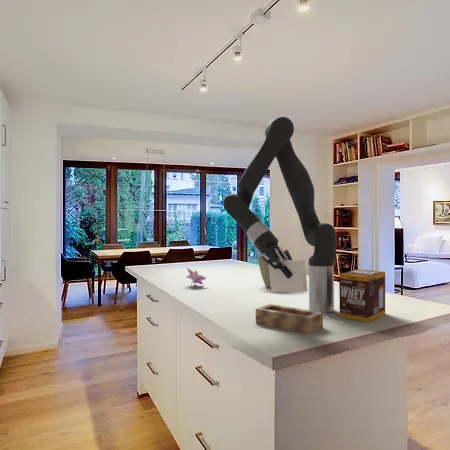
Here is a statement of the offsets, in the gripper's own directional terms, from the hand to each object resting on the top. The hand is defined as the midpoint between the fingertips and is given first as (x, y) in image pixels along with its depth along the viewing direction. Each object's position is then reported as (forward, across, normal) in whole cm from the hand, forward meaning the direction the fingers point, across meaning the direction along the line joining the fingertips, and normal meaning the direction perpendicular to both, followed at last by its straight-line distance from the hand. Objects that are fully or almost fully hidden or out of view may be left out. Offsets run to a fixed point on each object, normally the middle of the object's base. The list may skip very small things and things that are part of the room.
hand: (293, 276), depth 117 cm
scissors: (+16, +15, +8) cm, 23 cm away
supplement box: (+21, +27, +2) cm, 34 cm away
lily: (-42, +31, +66) cm, 84 cm away
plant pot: (-19, +55, +43) cm, 72 cm away
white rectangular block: (+3, 0, +5) cm, 5 cm away
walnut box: (+10, 0, +13) cm, 17 cm away
